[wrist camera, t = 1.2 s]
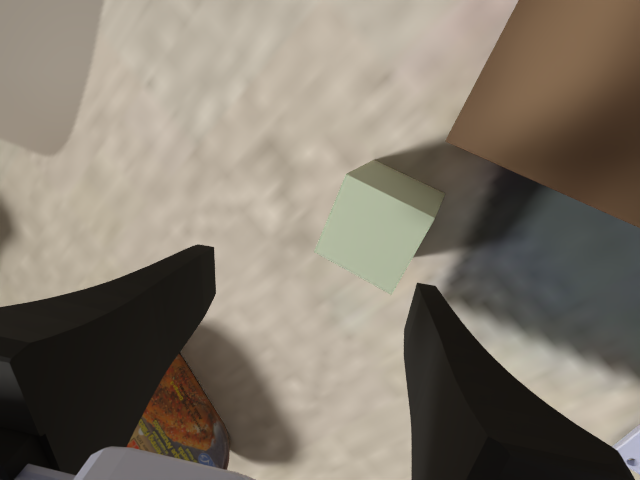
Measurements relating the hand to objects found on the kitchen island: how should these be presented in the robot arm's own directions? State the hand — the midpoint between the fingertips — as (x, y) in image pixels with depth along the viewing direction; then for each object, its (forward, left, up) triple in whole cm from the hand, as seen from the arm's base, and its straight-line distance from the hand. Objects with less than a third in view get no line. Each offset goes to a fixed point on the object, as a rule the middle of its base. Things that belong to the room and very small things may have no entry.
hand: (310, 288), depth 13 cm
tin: (+8, +25, -11) cm, 28 cm away
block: (-1, 0, -10) cm, 10 cm away
